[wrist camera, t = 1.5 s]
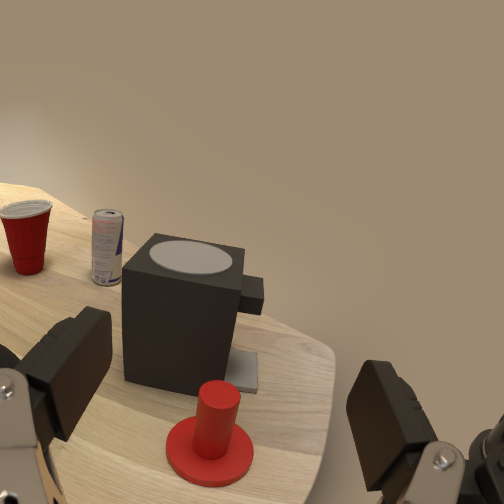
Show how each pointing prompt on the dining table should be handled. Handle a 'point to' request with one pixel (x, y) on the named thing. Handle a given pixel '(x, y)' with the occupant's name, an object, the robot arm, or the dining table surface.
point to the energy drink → (107, 246)
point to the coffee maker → (187, 315)
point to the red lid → (211, 439)
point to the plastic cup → (27, 233)
